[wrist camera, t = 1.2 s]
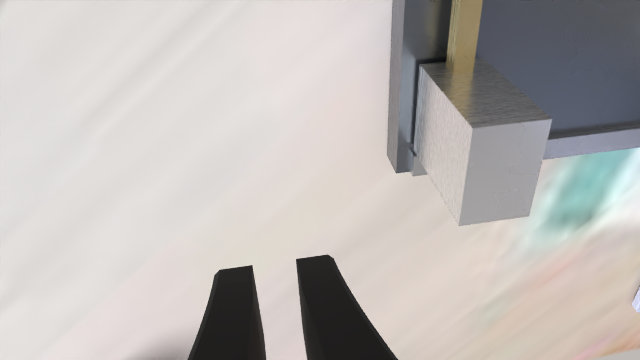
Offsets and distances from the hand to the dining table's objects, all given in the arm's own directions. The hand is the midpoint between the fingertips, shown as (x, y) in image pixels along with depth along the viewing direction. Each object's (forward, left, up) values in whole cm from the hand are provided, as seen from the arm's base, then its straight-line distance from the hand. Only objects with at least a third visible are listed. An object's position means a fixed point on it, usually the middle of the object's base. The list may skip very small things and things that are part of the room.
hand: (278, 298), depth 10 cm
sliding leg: (-6, -1, -7) cm, 9 cm away
